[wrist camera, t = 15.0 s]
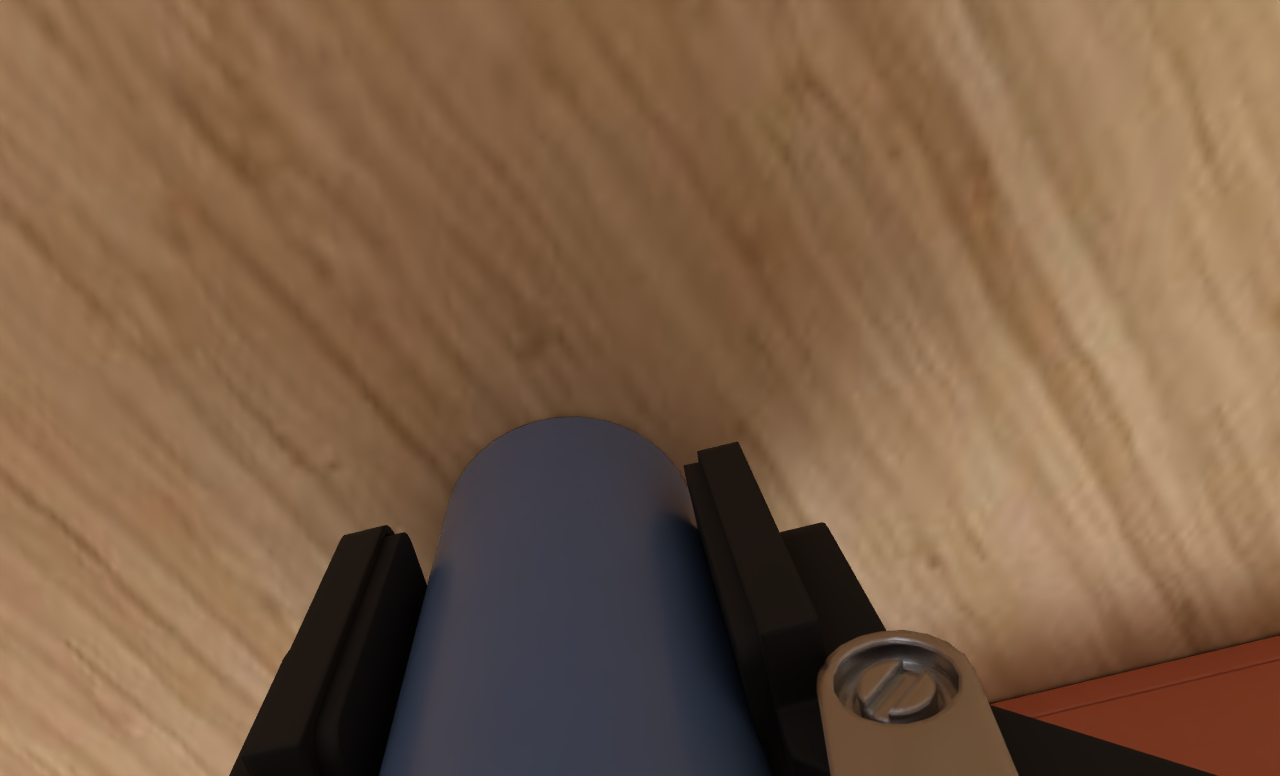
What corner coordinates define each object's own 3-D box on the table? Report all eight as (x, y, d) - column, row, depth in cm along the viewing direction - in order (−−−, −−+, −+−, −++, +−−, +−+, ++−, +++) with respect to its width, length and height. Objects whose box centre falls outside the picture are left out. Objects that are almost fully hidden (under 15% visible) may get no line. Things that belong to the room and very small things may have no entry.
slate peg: (485, 657, 14) (415, 1202, 7) (413, 448, 12) (248, 879, 6) (715, 603, 14) (854, 1099, 7) (666, 388, 12) (781, 751, 6)
